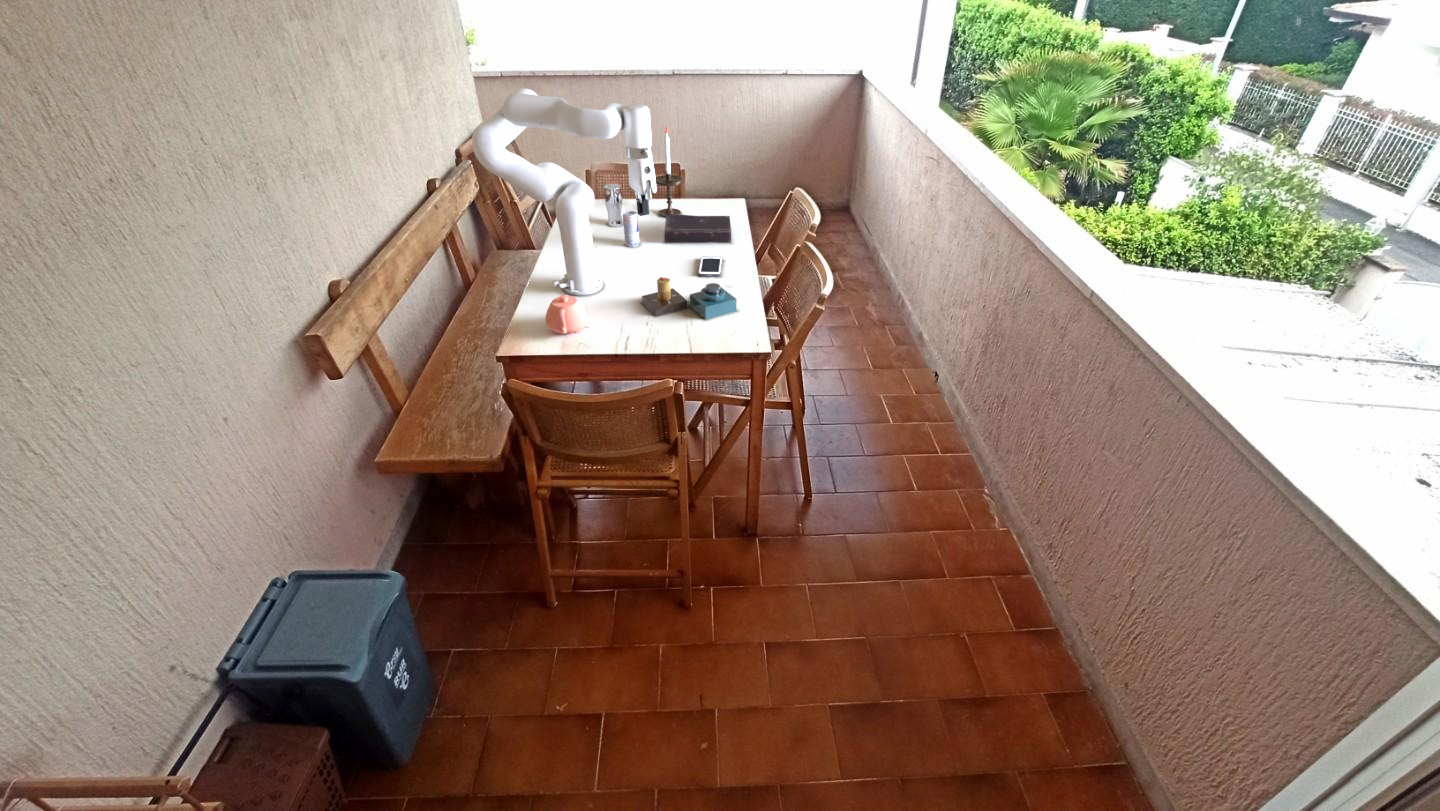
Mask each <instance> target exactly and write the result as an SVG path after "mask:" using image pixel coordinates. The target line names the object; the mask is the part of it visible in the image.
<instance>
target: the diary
mask: <svg viewBox="0 0 1440 811" xmlns="http://www.w3.org/2000/svg"><path fill="white" fill-rule="evenodd" d="M731 227H732V226H731V216H730V215H690V214H681V215H666V218H665V223H664V231H663V234H664V243H665V244H675V243H691V244H693V243H694V244H695V243H696V244H699V243H701V244H702V243H725V244H727V243H732V228H731Z"/></svg>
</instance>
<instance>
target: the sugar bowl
mask: <svg viewBox="0 0 1440 811" xmlns="http://www.w3.org/2000/svg"><path fill="white" fill-rule="evenodd" d="M588 314H589V313H588V312H587V309H586V308H585V306H584V305H583V303H581V301H580V300H579V299H578V298H576V297H575V296H573V295H567V294H561V295H559V296H556V297H555V298H553V299H552V300H551V302H550V303H549V305H548V307H547V310H546V313H545V325H546V326H547V327H548V329H549V330H551V331H552V332H554V333H556V334H561V335H569V334H577V333H579V332H580V331H582V330H583V329H584V328H585V327H586V325H587V324H588V322H589V315H588Z"/></svg>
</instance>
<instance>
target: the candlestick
mask: <svg viewBox="0 0 1440 811" xmlns="http://www.w3.org/2000/svg"><path fill="white" fill-rule="evenodd" d="M668 131H669V124H667V125H666V127H665V135H664V137H663V139H664V159H665V171H663V172H662V173H663V174H664V175H659V176H657V177H655V180H656V185H658V186H664V187H667V188H666V191H667V194H665V197H666V200H667V201H666V204H667V208H662V209H660V210H659V211H658V216H659V217H661V218H665V219H666V215H682V211H681V210H680V209H678V208H674V207H672V204H673V201H672V199H673V196H674V195H673V194H672V190H671V188H672V187H673V186H679V185H680V184H682V183H683V178H682V176H679V175H675V174H673V173H674V171H672V170H671V150H670V148H671V147H670V137H669V135H668Z"/></svg>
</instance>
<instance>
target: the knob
mask: <svg viewBox="0 0 1440 811" xmlns="http://www.w3.org/2000/svg"><path fill="white" fill-rule="evenodd" d="M656 282H657V283H656V285H657V292H658V299H659V300H661V301H667V300H670V299H671V289H672V288H671V279H670V278H669V277H662V276H660V277H659V278H658V279H656Z"/></svg>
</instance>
